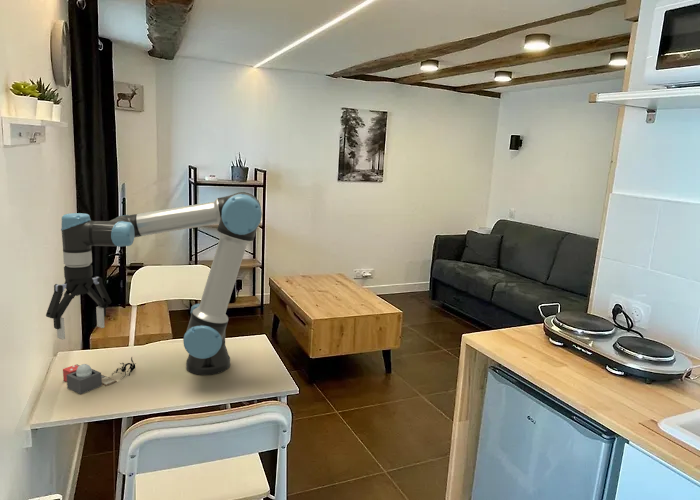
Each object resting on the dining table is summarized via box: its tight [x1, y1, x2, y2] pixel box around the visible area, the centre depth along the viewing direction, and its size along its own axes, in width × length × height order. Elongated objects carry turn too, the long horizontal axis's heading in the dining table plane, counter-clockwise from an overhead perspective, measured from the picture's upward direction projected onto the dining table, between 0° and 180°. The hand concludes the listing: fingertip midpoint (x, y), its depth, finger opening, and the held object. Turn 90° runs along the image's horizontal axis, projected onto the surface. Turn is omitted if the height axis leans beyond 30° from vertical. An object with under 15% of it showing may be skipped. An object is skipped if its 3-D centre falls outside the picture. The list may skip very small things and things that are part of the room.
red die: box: [62, 364, 79, 383], centre depth 158 cm, size 4×4×4 cm
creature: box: [111, 356, 137, 381], centre depth 163 cm, size 8×5×8 cm
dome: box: [76, 363, 92, 379], centre depth 153 cm, size 4×4×5 cm
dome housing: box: [66, 368, 103, 395], centre depth 153 cm, size 7×7×4 cm
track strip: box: [75, 363, 118, 387], centre depth 162 cm, size 22×4×1 cm, turn 60°
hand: (81, 332), depth 150 cm, fingers open, 12 cm apart
